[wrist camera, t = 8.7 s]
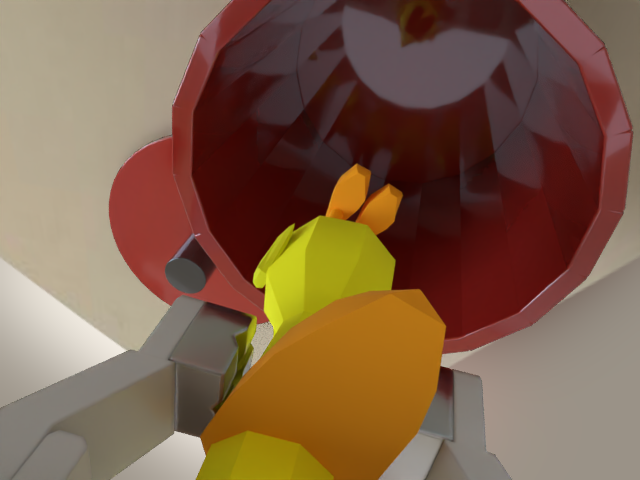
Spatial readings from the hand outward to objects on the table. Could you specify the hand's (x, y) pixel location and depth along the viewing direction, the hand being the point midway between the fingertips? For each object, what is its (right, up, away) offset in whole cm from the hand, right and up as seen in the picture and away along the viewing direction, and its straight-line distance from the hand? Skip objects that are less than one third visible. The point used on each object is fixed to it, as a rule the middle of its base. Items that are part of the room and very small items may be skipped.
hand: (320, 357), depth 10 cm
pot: (+5, +11, +17) cm, 21 cm away
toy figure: (+1, +4, +5) cm, 7 cm away
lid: (-7, +3, +25) cm, 26 cm away
